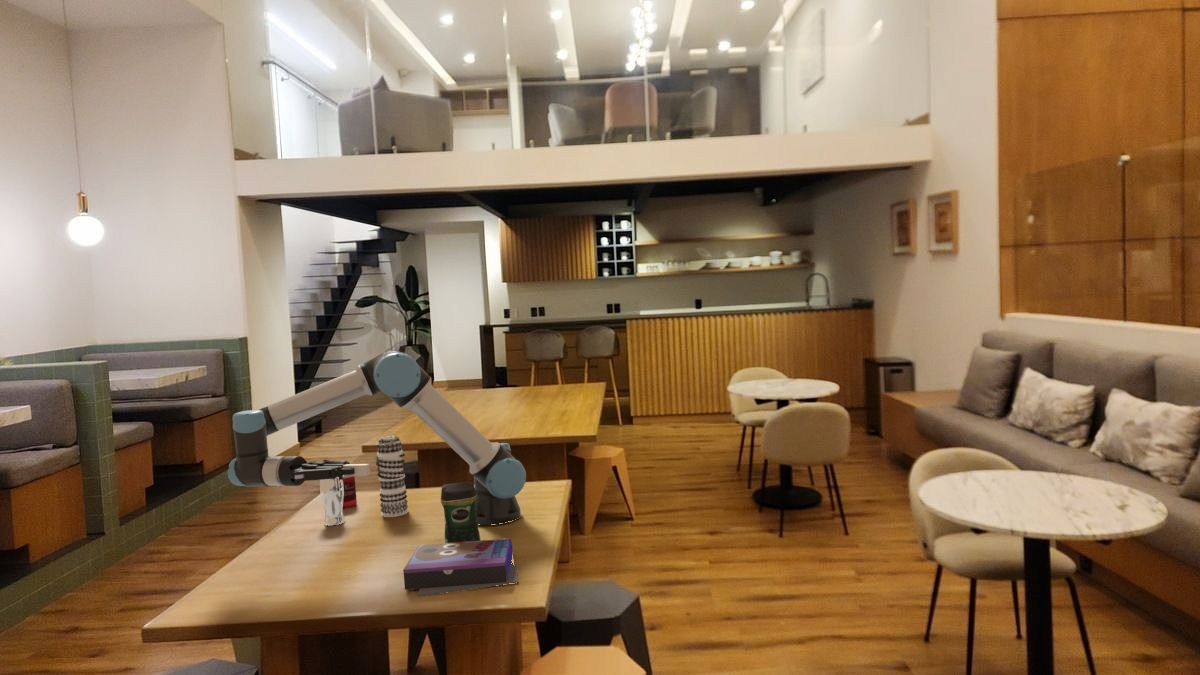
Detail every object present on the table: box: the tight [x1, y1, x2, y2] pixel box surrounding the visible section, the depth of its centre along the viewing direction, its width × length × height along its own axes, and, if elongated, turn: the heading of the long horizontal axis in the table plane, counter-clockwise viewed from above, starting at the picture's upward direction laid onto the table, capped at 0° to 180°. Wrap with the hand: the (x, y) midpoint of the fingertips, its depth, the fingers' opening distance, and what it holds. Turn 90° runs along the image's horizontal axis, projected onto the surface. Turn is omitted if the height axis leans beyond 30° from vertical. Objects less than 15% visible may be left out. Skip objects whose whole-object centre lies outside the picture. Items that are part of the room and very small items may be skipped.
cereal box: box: [403, 538, 514, 591], centre depth 185 cm, size 17×5×24 cm
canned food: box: [342, 475, 358, 510], centre depth 256 cm, size 8×8×11 cm
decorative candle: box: [375, 435, 409, 518], centre depth 243 cm, size 9×9×25 cm
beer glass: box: [319, 477, 346, 527], centre depth 236 cm, size 7×7×15 cm
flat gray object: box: [417, 561, 519, 597], centre depth 186 cm, size 23×22×1 cm
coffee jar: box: [440, 480, 481, 543], centre depth 203 cm, size 10×8×19 cm
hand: (368, 469), depth 185 cm, fingers closed
